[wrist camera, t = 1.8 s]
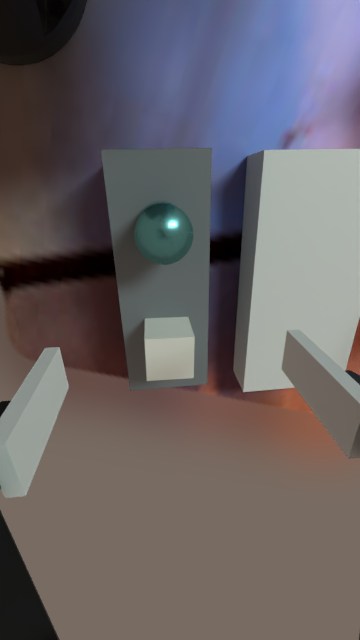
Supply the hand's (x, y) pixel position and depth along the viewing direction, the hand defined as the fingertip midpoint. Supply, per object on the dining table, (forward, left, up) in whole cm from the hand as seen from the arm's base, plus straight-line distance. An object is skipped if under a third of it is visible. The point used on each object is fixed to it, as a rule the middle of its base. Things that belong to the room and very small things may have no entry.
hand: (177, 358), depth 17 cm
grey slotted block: (0, 0, -21) cm, 21 cm away
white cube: (+5, 0, -13) cm, 14 cm away
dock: (+2, +17, -20) cm, 27 cm away
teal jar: (-6, 0, -13) cm, 14 cm away
